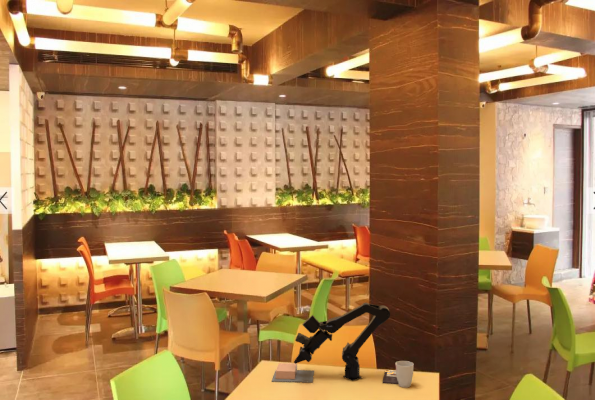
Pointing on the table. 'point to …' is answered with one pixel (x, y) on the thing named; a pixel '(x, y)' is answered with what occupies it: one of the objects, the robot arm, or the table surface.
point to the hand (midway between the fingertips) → (294, 362)
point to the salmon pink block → (286, 371)
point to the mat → (298, 377)
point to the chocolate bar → (390, 377)
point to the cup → (404, 373)
